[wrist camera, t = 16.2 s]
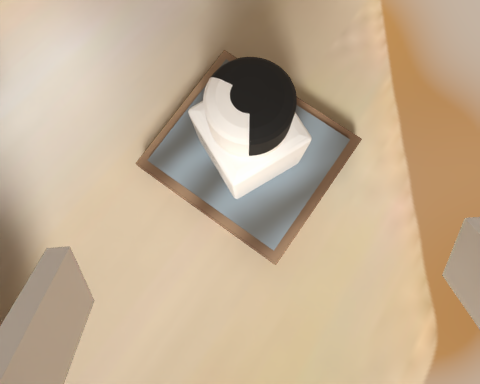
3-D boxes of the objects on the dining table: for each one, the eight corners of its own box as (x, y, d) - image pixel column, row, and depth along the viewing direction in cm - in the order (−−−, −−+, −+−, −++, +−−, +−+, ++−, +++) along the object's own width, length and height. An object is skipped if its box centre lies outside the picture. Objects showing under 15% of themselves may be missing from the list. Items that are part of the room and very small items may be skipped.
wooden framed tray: (142, 169, 39) (133, 162, 36) (225, 62, 41) (224, 47, 38) (274, 264, 37) (276, 264, 34) (354, 146, 39) (363, 137, 36)
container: (261, 102, 37) (268, 23, 24) (300, 163, 36) (329, 113, 23) (198, 138, 37) (172, 76, 24) (235, 201, 35) (229, 171, 23)
